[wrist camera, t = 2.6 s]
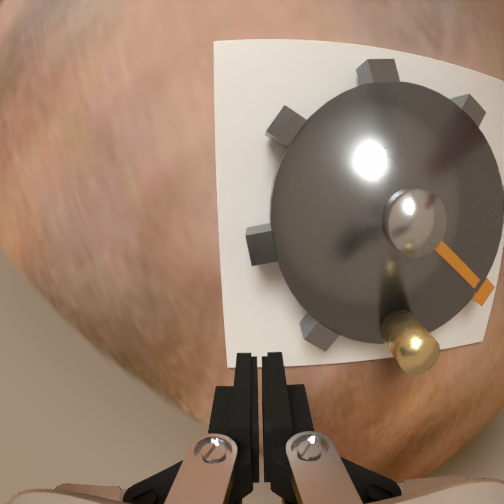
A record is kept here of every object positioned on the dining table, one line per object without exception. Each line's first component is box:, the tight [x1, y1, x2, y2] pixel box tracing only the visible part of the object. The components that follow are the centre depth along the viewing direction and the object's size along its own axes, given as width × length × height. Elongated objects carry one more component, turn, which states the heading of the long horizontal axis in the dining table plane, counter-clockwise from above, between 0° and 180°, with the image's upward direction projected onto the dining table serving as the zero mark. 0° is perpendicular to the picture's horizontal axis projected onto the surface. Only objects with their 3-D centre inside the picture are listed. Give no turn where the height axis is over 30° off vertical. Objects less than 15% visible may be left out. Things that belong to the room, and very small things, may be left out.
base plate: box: [214, 39, 504, 368], centre depth 16 cm, size 18×18×1 cm
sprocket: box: [245, 59, 504, 376], centre depth 13 cm, size 15×15×5 cm
